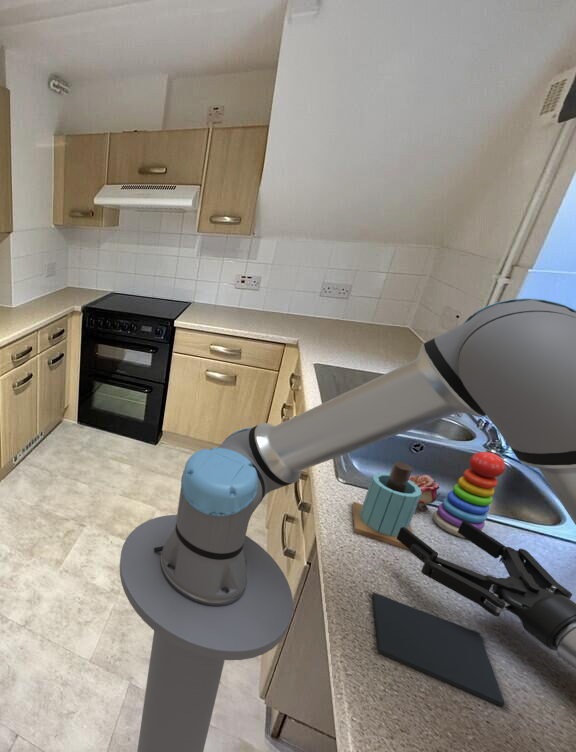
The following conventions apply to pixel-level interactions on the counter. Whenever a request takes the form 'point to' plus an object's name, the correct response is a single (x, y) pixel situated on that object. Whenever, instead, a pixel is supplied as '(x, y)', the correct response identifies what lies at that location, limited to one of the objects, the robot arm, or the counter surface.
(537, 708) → the counter surface
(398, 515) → the planter pot
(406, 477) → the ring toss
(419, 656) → the mat
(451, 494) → the stacking toy
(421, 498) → the flower
